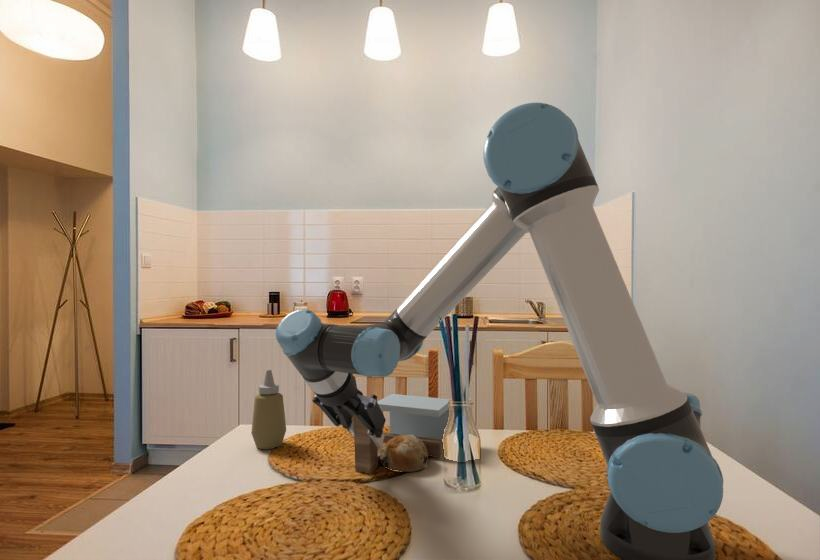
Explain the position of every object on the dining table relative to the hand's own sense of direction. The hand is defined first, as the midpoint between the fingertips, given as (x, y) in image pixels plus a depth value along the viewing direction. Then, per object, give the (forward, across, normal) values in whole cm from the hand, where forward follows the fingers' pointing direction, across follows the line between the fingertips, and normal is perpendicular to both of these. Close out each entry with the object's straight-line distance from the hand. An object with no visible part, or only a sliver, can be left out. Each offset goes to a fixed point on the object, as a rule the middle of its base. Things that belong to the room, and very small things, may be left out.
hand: (372, 440), depth 103 cm
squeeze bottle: (+5, +28, +3) cm, 29 cm away
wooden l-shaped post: (+5, -5, +1) cm, 8 cm away
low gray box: (+14, -4, -7) cm, 16 cm away
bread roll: (+6, -6, +2) cm, 9 cm away
